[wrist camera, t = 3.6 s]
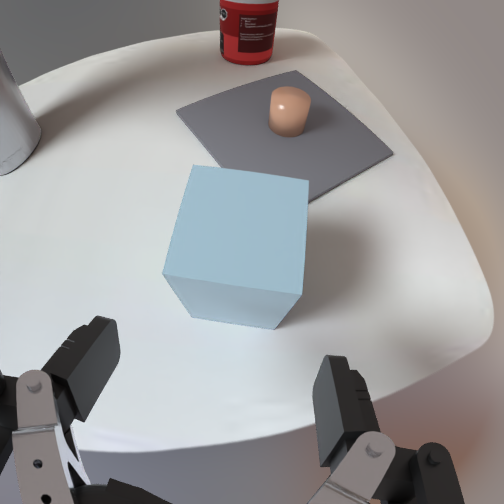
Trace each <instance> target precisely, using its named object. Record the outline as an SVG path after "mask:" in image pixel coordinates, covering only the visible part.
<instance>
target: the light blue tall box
mask: <svg viewBox="0 0 504 504" xmlns="http://www.w3.org/2000/svg"><path fill="white" fill-rule="evenodd" d="M308 190H309V181H308V180H302V179H296V178H290V177H284V176H277V175H271V174H264V173H257V172H250V171H242V170H234V169H226V168H218V167H208V166H199V165H193V167H192V170H191V173H190V176H189V179H188V183H187V186H186V189H185V193H184V196H183V199H182V203H181V206H180V209H179V213H178V216H177V220H176V223H175V227H174V231H173V234H172V238H171V242H170V246H169V249H168V253H167V257H166V261H165V265H164V269H163V273H162V274H163V276H164V277H165V279H166V280H167V282H168V283H169V285H170V286H171V288H172V289H173V291H174V292H175V294H176V295H177V297H178V298H179V300H180V301H181V303H182V304H183V305H184V307H185V308H186V310H187V311H188V313H189V314H190V316H191V317H194V318H200V319H205V320H211V321H218V322H224V323H230V324H237V325H244V326H251V327H258V328H266V329H273V330H274V329H275V328H276V327H277V326H278V324H279V323H280V322H281V321H282V319H283V318H284V317H285V316H286V314H287V313H288V312H289V311H290V309H291V308H292V307H293V306H294V304H295V303H296V302H297V301H298V299H299V298H300V297H301V296H302V290H303V277H304V264H305V249H306V232H307V213H308Z"/></svg>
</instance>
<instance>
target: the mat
mask: <svg viewBox="0 0 504 504" xmlns="http://www.w3.org/2000/svg"><path fill="white" fill-rule="evenodd" d="M285 86H289V87H295V88H299V89H301V90H303V91H305V92H306V93H307V94H308V95H309V96H310V98H311V104H310V108H309V112H308V116H307V120H306V124H305V128H304V131H303V133H302V134H300V135H299V136H296V137H282V136H279V135H277V134H275V133H274V132H273V131H271V129H270V128H269V125H268V121H269V112H270V103H271V95H272V92H273V91H274V90H275V89H277V88H279V87H285ZM176 113H177V115H178V116H179V117H180V118H181V119H182V121H183V122H184V123H185V124H186V125H187V126H188V128H189V129H190V130H191V131H192V132H193V134H194V135H195V136H196V137H197V138H198V140H199V141H200V142H201V143H202V145H203V146H204V147H205V148H206V149H207V151H208V152H209V153H210V154H211V155H212V157H213V158H214V159H215V160H216V162H217V163H218V164H219V165H220V166H221V168H226V169H234V170H242V171H250V172H257V173H264V174H271V175H277V176H284V177H290V178H296V179H302V180H308V181H309V190H308V203H309V202H310V201H312V200H314V199H315V198H317V197H319V196H321V195H322V194H324V193H326V192H328V191H329V190H331V189H333V188H335V187H336V186H338V185H340V184H342V183H343V182H345V181H347V180H349V179H350V178H352V177H354V176H356V175H358V174H359V173H361V172H363V171H365V170H366V169H368V168H370V167H372V166H373V165H375V164H377V163H379V162H381V161H382V160H384V159H386V158H388V157H389V156H391V155H392V154H393V151H392V150H391V149H390V148H389V147H387V146H386V145H385V144H384V143H383V142H382V141H381V140H380V139H379V138H378V137H377V136H376V135H375V134H374V133H373V132H372V131H371V130H370V129H368V128H367V127H366V126H365V125H364V124H363V123H362V122H361V121H359V120H358V119H357V118H356V117H355V116H354V115H353V114H351V113H350V112H349V111H348V110H347V109H346V108H344V107H343V106H342V105H341V104H340V103H338V102H337V101H336V100H335V99H333V98H332V97H331V96H330V95H328V94H327V93H326V92H325V91H323V90H322V89H321V88H319V87H318V86H317V85H315V84H314V83H313V82H312V81H310V80H309V79H307V78H306V77H305V76H303V75H302V74H301V73H299V72H298V71H296V70H295V71H291V72H287V73H283V74H279V75H276V76H272V77H268V78H265V79H262V80H258V81H255V82H252V83H248V84H245V85H242V86H239V87H236V88H233V89H230V90H227V91H224V92H222V93H219V94H216V95H213V96H211V97H208V98H205V99H203V100H200V101H197V102H195V103H192V104H190V105H187V106H185V107H183V108H180V109H178V110H176Z"/></svg>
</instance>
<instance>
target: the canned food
mask: <svg viewBox="0 0 504 504" xmlns="http://www.w3.org/2000/svg"><path fill="white" fill-rule="evenodd" d="M278 2H279V0H220V51H221V54H222V56H223V58H224V59H226V60H228V61H229V62H232V63H235V64H240V65H257V64H261V63H264V62H266V61H268V60H269V58H270V57H271V55H272V51H273V43H274V35H275V27H276V19H277V11H278Z"/></svg>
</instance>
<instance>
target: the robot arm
mask: <svg viewBox="0 0 504 504" xmlns="http://www.w3.org/2000/svg"><path fill="white" fill-rule="evenodd" d="M40 137H41V128H40V127H39V125H38V123H37V121H36V119H35V118H34V116H33V114H32V112H31V110H30V108H29V106H28V105H27V103H26V101H25V99H24V97H23V95H22V93H21V91H20V89H19V87H18V85H17V83H16V81H15V79H14V77H13V75H12V73H11V71H10V69H9V67H8V64H7V62H6V60H5V58H4V56H3V53H2V51H1V49H0V175H4V174H7V173H9V172H11V171H12V170H14V169H15V168H17V167H18V166H19V165H20V164H22V163H23V162H24V161H25V160H26V159H27V158H28V156H29V155H30V154H31V153H32V152H33V150H34V149H35V147H36V146H37V144H38V142H39V139H40ZM119 359H120V344H119V338H118V330H117V324H116V321H115V320H113V319H109V318H105V317H102V316H96V317H95V318H94V319H93V320H92V321H91V322H90V323H89V325H88V326H87V325H83V326H81V327H79V328H77V329H76V330H74V331H73V332H72V333H71V334H70V335H69V337H68V338H67V340H65V341H64V342H63V344H62V345H61V347H59V348H58V349H57V351H56V352H55V353H54V354H53V356H52V357H51V358H50V359H49V360H48V362H47V363H46V364H45V365H44V367H43V368H42V369H41V370H30V371H27V372H25V373H23V374H22V375H21V376H20V377H19V378H17V377H11V376H5V375H2V372H1V370H0V474H1V472H2V470H3V468H4V466H5V464H6V462H7V460H8V458H9V456H10V454H11V453H12V451H14V459H15V466H16V472H17V478H18V483H19V488H20V493H21V497H22V502H23V504H172V503H169V502H167V501H165V500H163V499H161V498H159V497H157V496H155V495H153V494H151V493H149V492H147V491H145V490H144V489H142V488H139V487H135V486H132V485H129V484H126V483H123V482H120V481H117V480H114V479H111V478H110V479H109V482H108V484H107V485H106V484H91V482H90V480H89V478H88V476H87V474H86V472H85V470H84V468H83V465H82V461H81V458H80V455H79V451H78V448H77V444H76V440H75V436H74V432H73V428H72V425H71V423H72V422H73V420H74V418H75V419H77V420H79V421H82V422H85V420H86V419H87V417H88V415H89V413H90V411H91V410H92V408H93V406H94V404H95V402H96V401H97V399H98V397H99V395H100V394H101V392H102V390H103V388H104V387H105V385H106V383H107V381H108V380H109V378H110V376H111V375H112V373H113V371H114V370H115V368H116V366H117V364H118V362H119ZM370 399H371V398H370V395H369V392H368V389H367V386H366V383H365V380H364V378H363V377H362V376H361V375H360V374H359V372H358V371H357V370H350V368H349V365H348V362H347V359H346V357H345V356H332V355H326V356H325V357H324V359H323V362H322V364H321V367H320V370H319V372H318V375H317V378H316V380H315V383H314V387H313V405H314V414H315V422H316V430H317V440H318V448H319V459H320V467H330V469H331V475H330V476H329V477H328V478H327V480H326V481H325V482H324V483H323V485H322V486H321V487H320V488H319V489H318V491H317V492H316V493H315V494H314V495H313V497H312V498H311V499H310V500H309V501H308V502H307V504H370V503H369V501H370V499H371V498H373V499H379V500H380V501H381V504H465V503H464V499H463V496H462V492H461V489H460V485H459V482H458V478H457V475H456V472H455V469H454V465H453V462H452V459H451V456H450V454H449V452H448V450H447V449H446V448H445V447H444V446H442V445H441V444H438V443H433V442H430V443H427V444H424V445H423V446H421V447H420V448H419V450H418V451H417V450H411V449H406V448H400V447H396V446H395V445H394V443H393V441H392V440H391V439H390V438H389V437H388V436H386V435H384V434H383V433H381V432H380V428H379V426H378V422H377V418H376V415H375V412H374V408H373V405H372V402H371V401H370Z"/></svg>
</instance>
